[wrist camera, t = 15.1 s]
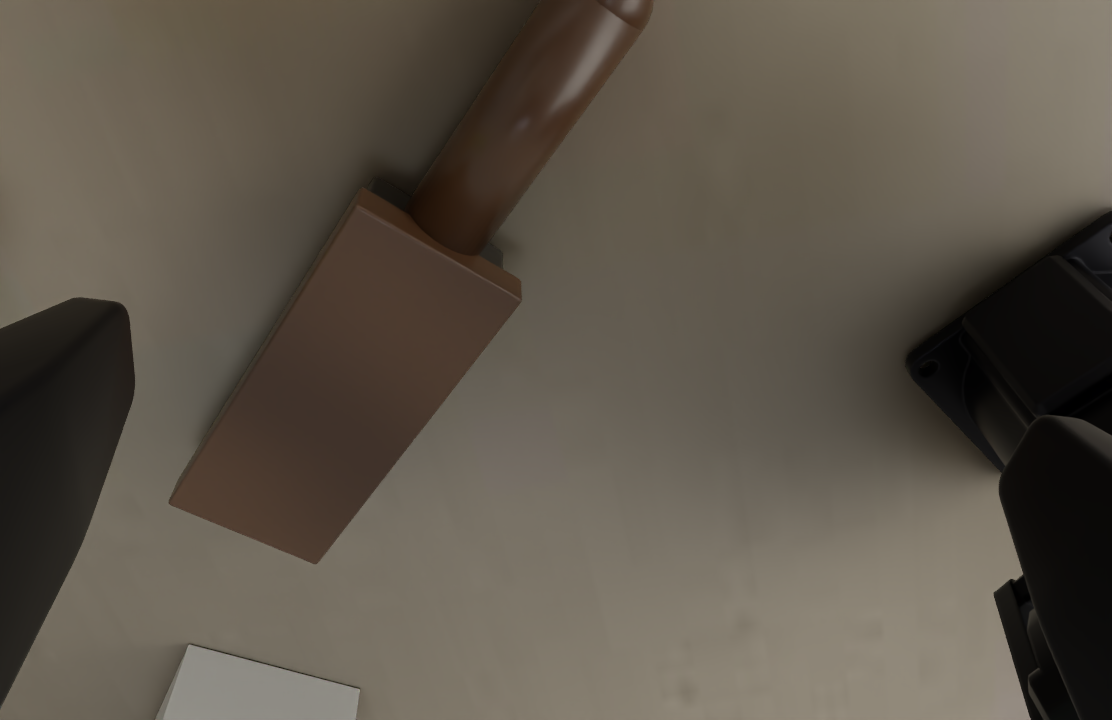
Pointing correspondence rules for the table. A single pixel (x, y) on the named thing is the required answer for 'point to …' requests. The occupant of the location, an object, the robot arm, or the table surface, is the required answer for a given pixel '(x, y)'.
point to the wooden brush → (398, 300)
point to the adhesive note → (251, 692)
